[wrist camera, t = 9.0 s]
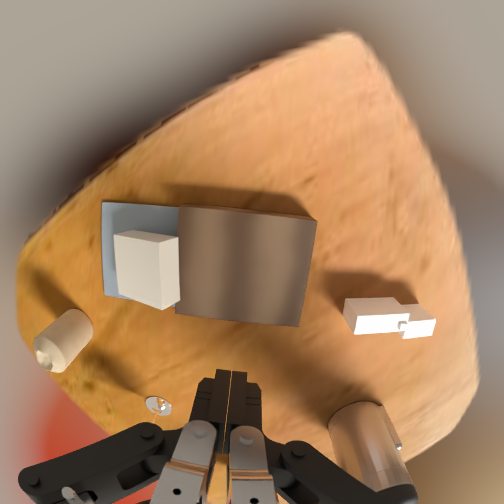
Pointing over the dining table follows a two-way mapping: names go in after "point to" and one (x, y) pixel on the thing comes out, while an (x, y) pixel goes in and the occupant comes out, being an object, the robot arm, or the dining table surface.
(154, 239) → the white block
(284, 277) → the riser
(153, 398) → the wineglass
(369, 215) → the dining table surface
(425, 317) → the napkin holder
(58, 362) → the candle
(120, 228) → the mat
